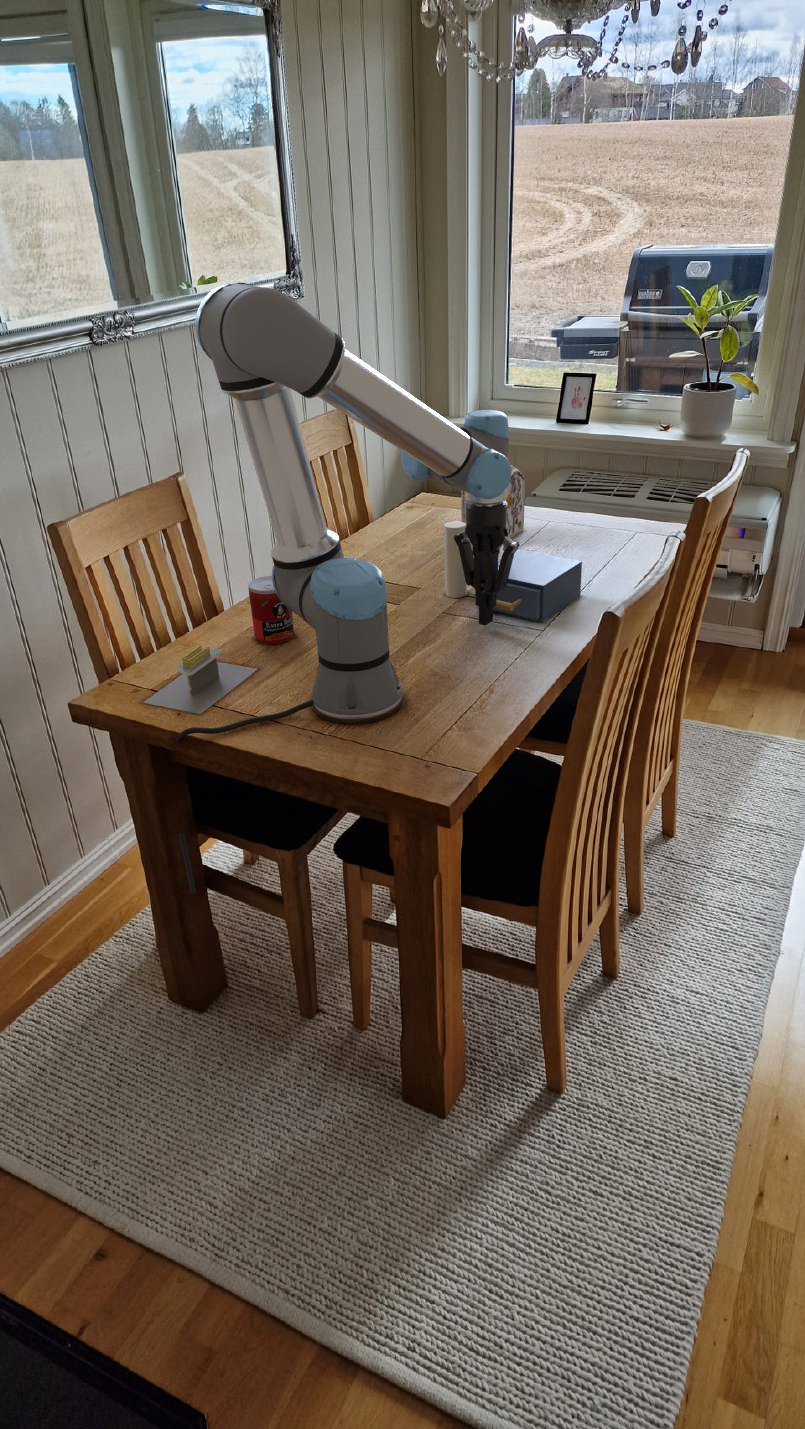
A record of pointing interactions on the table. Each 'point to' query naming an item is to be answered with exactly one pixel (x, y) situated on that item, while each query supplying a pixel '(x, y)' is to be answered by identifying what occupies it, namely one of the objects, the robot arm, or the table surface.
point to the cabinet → (547, 580)
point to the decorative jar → (509, 503)
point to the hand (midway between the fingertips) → (485, 622)
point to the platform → (200, 682)
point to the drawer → (519, 600)
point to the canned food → (269, 613)
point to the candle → (453, 561)
